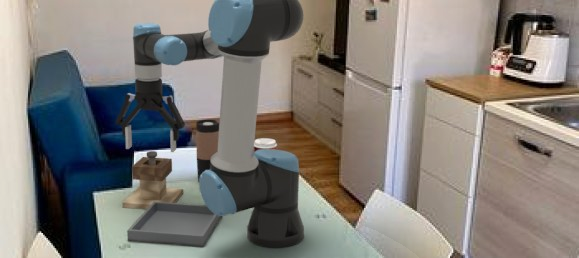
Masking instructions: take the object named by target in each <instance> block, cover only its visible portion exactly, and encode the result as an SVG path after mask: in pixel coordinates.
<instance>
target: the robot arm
mask: <svg viewBox="0 0 579 258" xmlns="http://www.w3.org/2000/svg"><path fill="white" fill-rule="evenodd" d="M209 10H210V11H209V13H208V18H207V19H208V21H207V22H208V24H207V25H208V29H207V30H204V31H202V32H192V33H189V32H188V33H178V34H175V33H174V34H163V33H162V29H161V26H160V25H159V24H158V23H154V22H153V23H151V22H150V23H149V22H142V23H136V24H135V25H134V26H133V29H132V30H133V33H132V35H133V36H132V40H133V41H132V42H133V43H132V44H133V58H134V77H135V78H136V79H135V80H134V84H135V85H134V87H135V88H134V89H135V94H133V93H131V92H128V93H126V94H125V95H124V102H123V104H122V107H121V108H120V110H119V113H118V115H117V117H116V119H115V124H116V125H117V126H121V131H122V132H121V133H122V137H123V138H125V149H126V150H129V149H130V148H131V147H133V141H132V140H133V139H132V125H131V124H129V123H131V121H133V119H134V118H135V117H136V116H137V114H139V112H140V111H141V110H142V111H150V112H154V111H156V112H157V113H158V114H159V115H160V116H161V117H162V118H163V120H164V121H165V122H166V123H167V124H168V125H169V127H170V128H171V129H170V131H169V132H170V133H169V137H170V153H174V152H175V151H176V150H177V141H178V140H179V139H180V129H183V128H184V127H185V126H186V123H185V122H184V119H183V117H182V116H181V113H180V111H179V109H178V107H177V105H176V103H175V100H174V98H175V97H174V95H172V94H170V95H169V96H167V95H166V96H164V94H163V79H162V75H163V74H162V72H163V69H162V67H163V66H162V64H163V65H166V66H177V65H180V64H182V63H183V62H190V61H196V60H197V61H198V60H200V61H201V60H209V59H210V60H214V59H218V58H223V66H222V67H223V68H222V79H221V80H222V82H221V92H220V93H221V95H220V96H221V98H220V110H219V111H220V112H219V122H220V123H219V122H218V123H219V137H218V152H217V153H215V154H214V155H213V156H212V157H211V161H210V170H205V171H204V172H203V173H202V174H201V175H200V178H199V182H198V186H199V193H200V196H201V197H202V200H203V202H204V203H205V204H204V205H207V207H208V208H209V209H210V210H211V211H212V212H213V213H214V214H216V215H218V216H222V217H225V216H228V215H235V214H236V213H240V212H243V211H247V210H249V209H252V212H251V214H250V217H249V221H248V223H247V225H246V237H247V239H248V240H249V241H250V242H251V243H253V244H255V245H257V246H261V247H264V248H274V249H276V248H279V249H280V248H287V247H291V246H294V245H296V244H299V243H300V242H302V240H303V239H304V238H305V226H304V223H303V220H302V217H301V214H300V211H299V183H300V166H299V164H300V163H299V159H298V157H297V156H296V155H295V154H294V153H291V152H289V151H286V150H281V149H276V150H275V149H260V150H257V151H254V142H255V140H256V139H255V138H256V126H257V125H256V124H257V118H258V117H257V115H258V105H259V92H260V83H261V72H262V63H263V62H262V61H263V60H264V59H265V58H266V57H268V56H269V55H270V48H271V47H270V46H271V43H273V42H279V41H285V40H287V39H290V38H292V37H293V36H295V35H297V33H298V32H300V29H301V27H302V26H303V22H304V10H303V7H302V4H301V2H300V1H299V0H214V1H213V3H212V5H211V7H210V9H209ZM134 100H135V102H136V103H137V104H136V106H135V107H134V108H133V110H131V112H130V113H129V114H128V115H126V114H127V112H128V110H129V108H130V106H131V104H132V102H133V101H134ZM163 102H164V103H165V104H167V107H168V109H169V111H167V109H166V107H165V106H164V105H163ZM169 112H170V113H171V114H170V113H169ZM125 116H127V117H126V118H125Z"/></svg>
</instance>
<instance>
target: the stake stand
mask: <svg viewBox="0 0 579 258" xmlns="http://www.w3.org/2000/svg"><path fill="white" fill-rule="evenodd" d="M146 157H149V165H156V159H155V158H158V152H157V151H154V150H152V151H147V152H146ZM181 195H182V196H183V195H184V189H183V188H173V187H172V188H171V187H167V177H166V178H165V179H164V180H163V181H150V180H139V186H138V187H137V188H136V189H135V190H134V191H133V192H132V193H131V194H130V195H128V197H127V198H125V199H124V200H123V202H122V204H121V205H122V208H125V209H141V210H147V209H148V207H149V206H150V205H151V204H152V203H153V202H167V203H177V202H178V201H179V200H180V198H181V197H182V196H181ZM177 200H178V201H177Z"/></svg>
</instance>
